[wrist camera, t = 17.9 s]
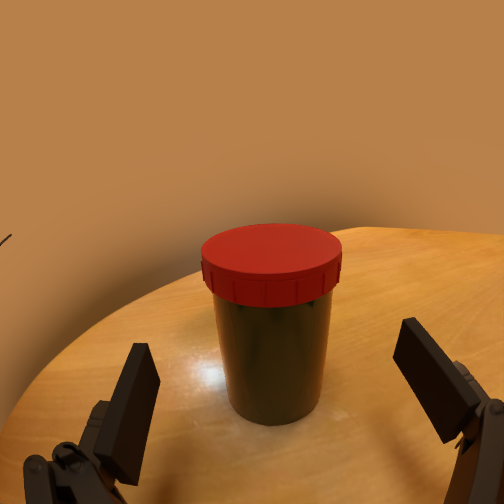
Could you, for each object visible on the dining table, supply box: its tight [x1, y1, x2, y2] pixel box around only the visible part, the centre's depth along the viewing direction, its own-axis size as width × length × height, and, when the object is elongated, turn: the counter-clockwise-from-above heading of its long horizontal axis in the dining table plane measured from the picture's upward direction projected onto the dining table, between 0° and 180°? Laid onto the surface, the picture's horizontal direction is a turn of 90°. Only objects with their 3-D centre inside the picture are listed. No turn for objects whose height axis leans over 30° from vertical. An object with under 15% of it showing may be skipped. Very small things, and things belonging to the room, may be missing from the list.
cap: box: [201, 224, 342, 308], centre depth 17 cm, size 8×8×2 cm
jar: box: [212, 289, 333, 425], centre depth 19 cm, size 7×7×12 cm
